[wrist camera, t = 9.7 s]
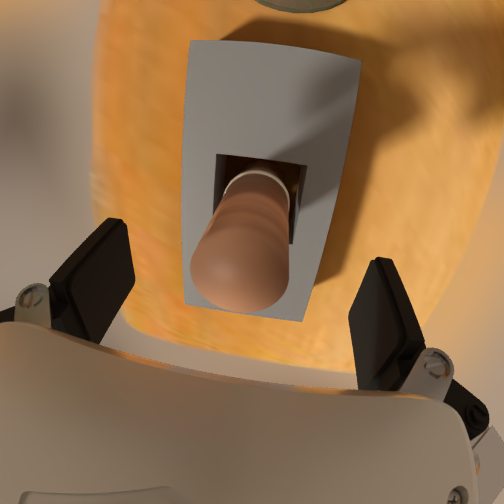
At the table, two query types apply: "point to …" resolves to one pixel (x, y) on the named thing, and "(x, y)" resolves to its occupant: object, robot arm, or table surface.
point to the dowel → (246, 243)
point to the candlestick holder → (300, 5)
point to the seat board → (266, 144)
